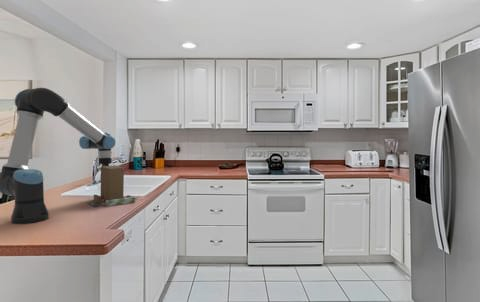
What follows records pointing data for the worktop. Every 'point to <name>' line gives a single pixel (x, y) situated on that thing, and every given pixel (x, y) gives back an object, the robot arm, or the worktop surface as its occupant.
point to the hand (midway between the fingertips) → (106, 194)
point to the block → (112, 182)
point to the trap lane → (112, 201)
